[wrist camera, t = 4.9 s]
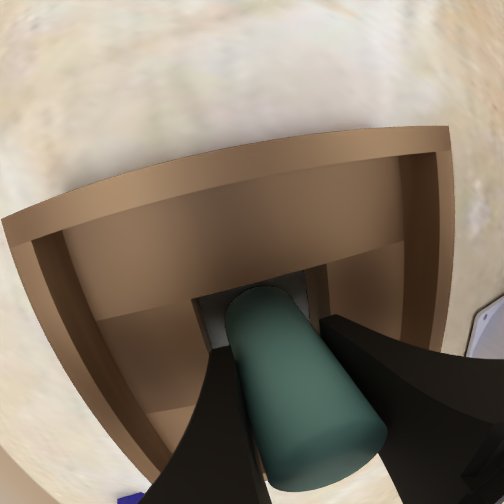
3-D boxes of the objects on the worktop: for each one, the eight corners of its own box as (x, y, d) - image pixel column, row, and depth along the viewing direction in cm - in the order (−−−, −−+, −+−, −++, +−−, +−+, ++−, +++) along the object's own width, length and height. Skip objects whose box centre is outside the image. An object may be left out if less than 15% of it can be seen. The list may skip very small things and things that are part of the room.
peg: (290, 276, 12) (393, 398, 5) (301, 337, 13) (381, 461, 6) (215, 298, 11) (254, 453, 5) (234, 358, 12) (278, 502, 6)
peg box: (373, 130, 12) (448, 125, 7) (381, 367, 16) (423, 414, 12) (62, 196, 10) (0, 219, 6) (164, 431, 14) (165, 497, 10)
